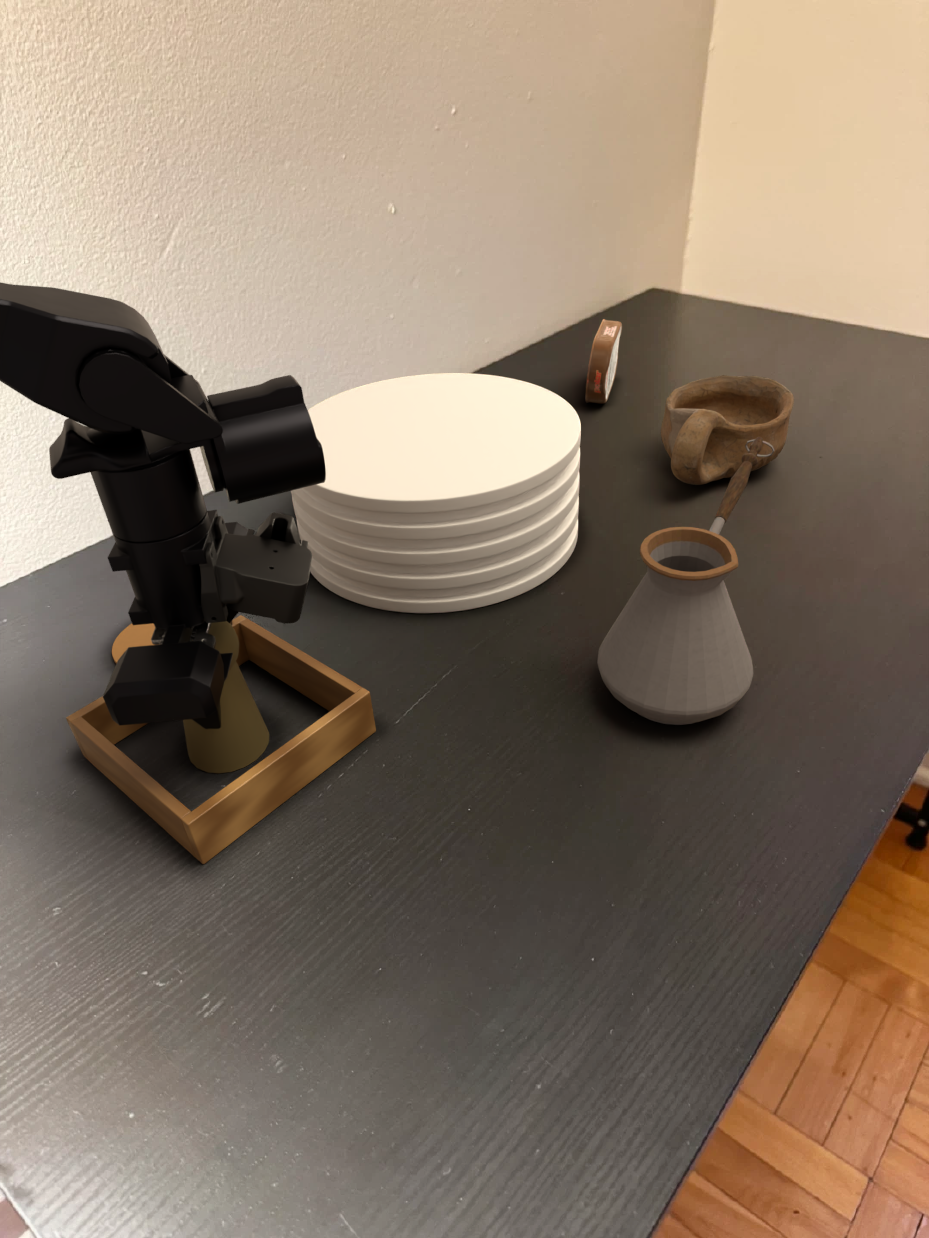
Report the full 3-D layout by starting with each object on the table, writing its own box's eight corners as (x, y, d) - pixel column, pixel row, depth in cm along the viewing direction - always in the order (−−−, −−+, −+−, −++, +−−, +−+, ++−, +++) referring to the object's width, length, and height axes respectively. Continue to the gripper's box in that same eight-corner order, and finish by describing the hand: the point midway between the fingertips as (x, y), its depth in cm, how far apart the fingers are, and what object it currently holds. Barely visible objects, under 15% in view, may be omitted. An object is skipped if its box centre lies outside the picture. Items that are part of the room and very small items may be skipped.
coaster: (149, 690, 69) (147, 686, 69) (93, 648, 74) (92, 644, 74) (238, 636, 74) (237, 632, 74) (181, 600, 79) (180, 596, 79)
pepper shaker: (260, 772, 61) (227, 654, 54) (178, 774, 61) (135, 657, 54) (276, 714, 66) (247, 599, 59) (200, 716, 66) (163, 602, 59)
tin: (599, 370, 119) (601, 310, 114) (621, 371, 119) (625, 310, 114) (582, 413, 108) (584, 348, 103) (607, 414, 107) (610, 349, 102)
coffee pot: (717, 765, 59) (748, 589, 50) (570, 709, 64) (574, 541, 55) (802, 607, 73) (839, 447, 64) (676, 572, 78) (693, 420, 69)
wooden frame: (203, 865, 55) (187, 824, 52) (83, 756, 63) (65, 717, 61) (376, 731, 64) (370, 691, 61) (250, 651, 72) (240, 614, 70)
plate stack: (384, 653, 71) (367, 536, 64) (261, 520, 90) (238, 420, 83) (636, 545, 82) (644, 436, 75) (479, 447, 102) (474, 353, 95)
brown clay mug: (791, 507, 84) (777, 413, 79) (652, 522, 90) (631, 436, 85) (804, 431, 96) (794, 347, 92) (682, 449, 103) (666, 371, 98)
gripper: (272, 594, 44) (321, 794, 54) (304, 442, 59) (337, 619, 69) (60, 613, 44) (146, 809, 54) (145, 456, 59) (200, 631, 68)
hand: (219, 705), depth 61 cm, fingers closed on pepper shaker, 4 cm apart
